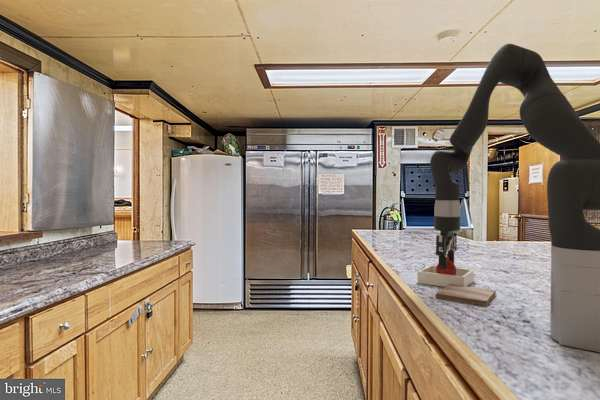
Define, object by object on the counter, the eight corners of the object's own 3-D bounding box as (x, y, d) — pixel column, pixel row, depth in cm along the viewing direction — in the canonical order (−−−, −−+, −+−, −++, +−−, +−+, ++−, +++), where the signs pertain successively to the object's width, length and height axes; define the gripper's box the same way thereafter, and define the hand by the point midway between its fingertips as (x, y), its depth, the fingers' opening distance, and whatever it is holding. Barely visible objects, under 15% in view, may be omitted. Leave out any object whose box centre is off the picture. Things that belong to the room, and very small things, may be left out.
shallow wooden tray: (463, 289, 107) (464, 277, 107) (417, 282, 114) (417, 271, 114) (473, 281, 117) (474, 269, 117) (430, 275, 125) (430, 265, 125)
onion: (434, 282, 115) (435, 256, 115) (437, 279, 120) (437, 254, 120) (455, 284, 112) (455, 258, 112) (457, 281, 117) (457, 255, 117)
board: (486, 306, 90) (486, 301, 90) (435, 298, 97) (435, 293, 97) (495, 294, 101) (495, 290, 101) (449, 288, 108) (449, 284, 108)
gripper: (453, 216, 108) (453, 272, 108) (465, 214, 119) (464, 264, 120) (427, 215, 112) (427, 269, 113) (441, 213, 124) (440, 262, 124)
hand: (446, 266), depth 116 cm, fingers open, 8 cm apart
